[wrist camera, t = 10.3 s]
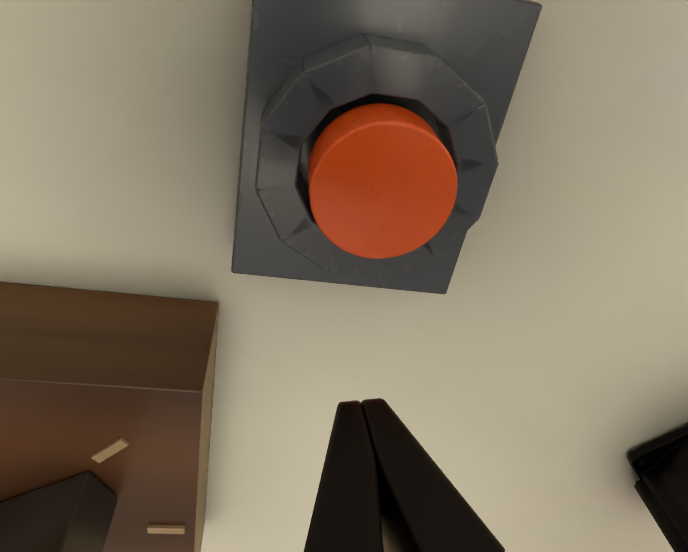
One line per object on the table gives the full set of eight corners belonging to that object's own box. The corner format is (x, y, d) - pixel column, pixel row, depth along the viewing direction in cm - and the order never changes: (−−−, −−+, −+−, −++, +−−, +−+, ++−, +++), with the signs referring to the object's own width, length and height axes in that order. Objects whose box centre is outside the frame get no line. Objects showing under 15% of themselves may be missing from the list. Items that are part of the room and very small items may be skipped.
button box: (259, -56, 15) (252, -52, 12) (522, -3, 17) (572, 12, 14) (234, 249, 20) (225, 303, 17) (435, 271, 22) (458, 324, 19)
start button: (318, 91, 14) (322, 110, 13) (459, 113, 15) (477, 133, 14) (299, 223, 17) (300, 252, 15) (423, 238, 17) (436, 266, 16)
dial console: (-199, 263, 19) (-340, 360, 15) (219, 301, 22) (201, 395, 17) (-94, 516, 27) (-166, 628, 23) (204, 523, 29) (189, 626, 25)
